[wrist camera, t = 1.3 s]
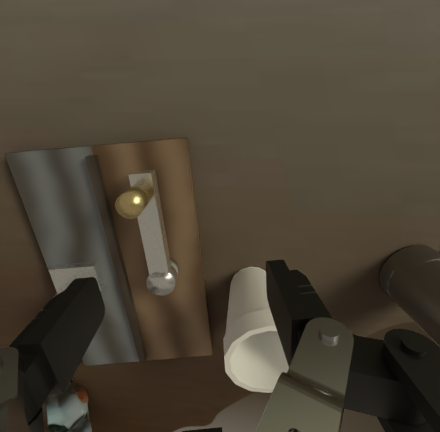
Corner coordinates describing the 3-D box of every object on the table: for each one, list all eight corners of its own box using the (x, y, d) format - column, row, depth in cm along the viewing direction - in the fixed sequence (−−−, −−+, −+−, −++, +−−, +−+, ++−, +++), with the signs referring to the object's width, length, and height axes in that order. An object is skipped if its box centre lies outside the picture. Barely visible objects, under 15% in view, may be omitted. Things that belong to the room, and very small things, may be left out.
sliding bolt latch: (187, 137, 30) (185, 139, 28) (212, 347, 42) (212, 361, 40) (13, 152, 30) (-5, 155, 28) (88, 357, 42) (80, 372, 40)
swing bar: (179, 284, 34) (171, 323, 28) (152, 286, 34) (138, 326, 28) (160, 168, 28) (144, 183, 22) (128, 171, 28) (103, 186, 22)
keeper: (97, 261, 34) (72, 291, 28) (109, 300, 36) (88, 336, 30) (53, 265, 34) (19, 296, 28) (68, 304, 36) (39, 340, 30)
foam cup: (209, 274, 37) (207, 349, 25) (265, 246, 36) (292, 311, 24) (238, 318, 40) (250, 403, 28) (291, 294, 39) (327, 372, 27)
